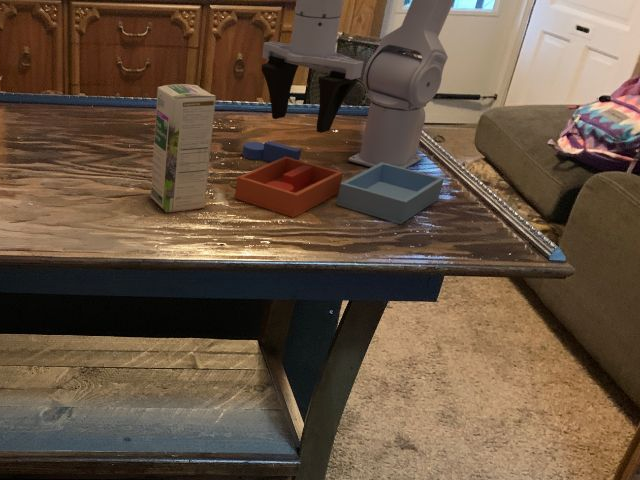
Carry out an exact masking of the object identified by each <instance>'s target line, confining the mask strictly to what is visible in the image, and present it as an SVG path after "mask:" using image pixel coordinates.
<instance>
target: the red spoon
mask: <svg viewBox="0 0 640 480" xmlns="http://www.w3.org/2000/svg"><path fill="white" fill-rule="evenodd" d="M312 169H313V167H311V166H307V165H303V166H300V167H298V168H296V169H294V170H292V171H289V172H287V173H285V174H283V179H282V182H280V181H272V182H268V183H266V184H267V185H270V186H274V187H277V188H280V189H284V190H287V191H290V192H293V193H295V192H297V191H299V190H301V189H303V188H305V187H307V186H309V185H310V181H311V175H312Z"/></svg>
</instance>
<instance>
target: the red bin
mask: <svg viewBox="0 0 640 480" xmlns="http://www.w3.org/2000/svg"><path fill="white" fill-rule="evenodd" d="M303 165H307V166H311V167H313V169H312V175H311V181H310V185H309V186H307V187H305V188H303V189H301V190H299V191H297V192H295V193H293V192H290V191H287V190H284V189H280V188H277V187H274V186H270V185H267V184H266V183H268V182H272V181H280V182H282V179H283V174H285V173H287V172H289V171H292V170H294V169H296V168H298V167H300V166H303ZM343 174H344V172H343V171H339V170H335V169H332V168H328V167H326V166H322V165H318V164H315V163H310V162H307V161H304V160H300V159H299V160H296V159H293V158H289V157H286V156H285V157H283V158H281V159H278V160H276V161H274V162H268V163H267V164H264V165H262V166H260V167H257V168H255V169H253V170H251V171H248V172H246V173H243V174H241V175H239V176H237V177H236V184H235V185H236V186H235V195H234V199H235V200H238V201H241V202H245V203H248V204H250V205H253V206H257V207H260V208H263V209H266V210H269V211H272V212H275V213H278V214H281V215H284V216H288V217H290V218H296V217H297V216H299V215H302V214H303V213H305V212H306V211H308V210H310V209H312V208H315V207H316V206H318V205H319V204H320V205H321V203H322V204H323V202H325V201H327V200H329V199H331V198H333V197H334V196H335V197H336V195H337V196H338V194H339V189H340V184H341V183H342V179H343Z"/></svg>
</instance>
